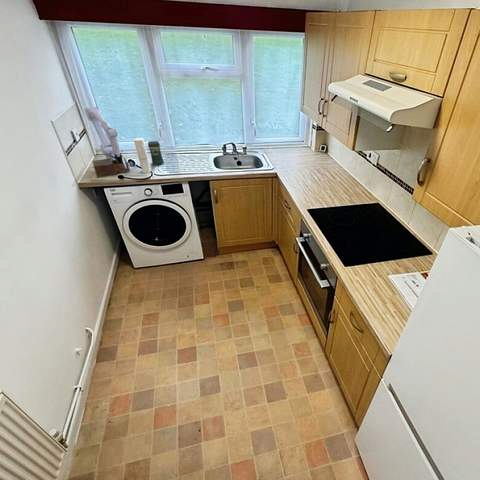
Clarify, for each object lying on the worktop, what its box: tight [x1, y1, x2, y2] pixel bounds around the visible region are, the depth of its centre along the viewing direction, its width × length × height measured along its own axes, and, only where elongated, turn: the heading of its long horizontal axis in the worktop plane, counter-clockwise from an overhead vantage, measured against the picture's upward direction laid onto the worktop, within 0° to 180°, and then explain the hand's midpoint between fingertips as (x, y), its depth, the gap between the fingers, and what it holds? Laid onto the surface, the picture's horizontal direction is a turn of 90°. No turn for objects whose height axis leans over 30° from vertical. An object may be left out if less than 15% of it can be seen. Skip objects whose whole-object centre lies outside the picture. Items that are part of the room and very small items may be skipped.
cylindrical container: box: [133, 137, 152, 174], centre depth 237 cm, size 7×7×25 cm
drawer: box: [112, 157, 134, 174], centre depth 242 cm, size 17×13×7 cm
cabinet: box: [92, 158, 117, 178], centre depth 237 cm, size 14×15×9 cm
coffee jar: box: [147, 140, 165, 166], centre depth 254 cm, size 10×8×19 cm
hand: (120, 163), depth 242 cm, fingers closed on scoop, 4 cm apart
